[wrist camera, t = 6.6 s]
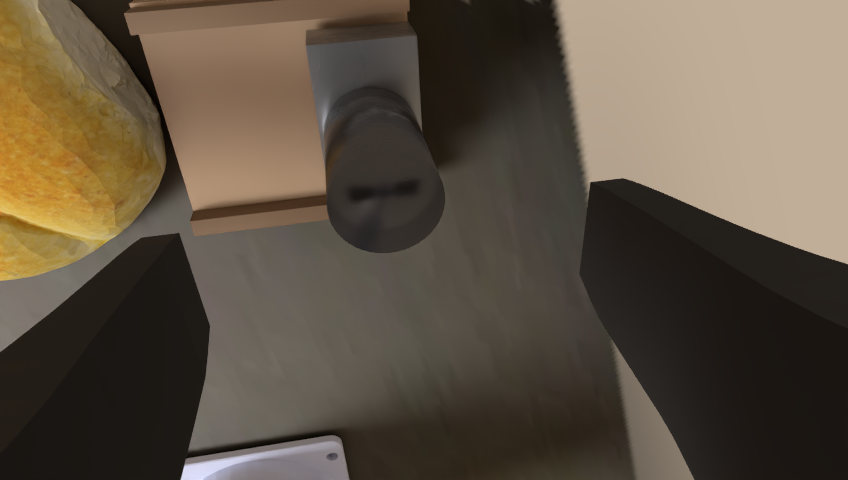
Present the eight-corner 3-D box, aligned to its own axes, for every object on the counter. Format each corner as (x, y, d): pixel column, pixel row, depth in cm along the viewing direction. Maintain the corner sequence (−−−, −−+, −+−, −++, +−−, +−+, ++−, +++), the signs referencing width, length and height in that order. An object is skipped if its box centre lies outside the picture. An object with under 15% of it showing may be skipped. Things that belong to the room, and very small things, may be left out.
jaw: (418, 180, 18) (452, 285, 13) (330, 190, 17) (336, 300, 13) (408, 20, 15) (446, 86, 11) (306, 30, 15) (303, 100, 10)
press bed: (411, 179, 20) (421, 211, 18) (206, 203, 19) (195, 238, 17) (398, -29, 16) (407, -15, 14) (144, -9, 15) (122, 9, 14)
